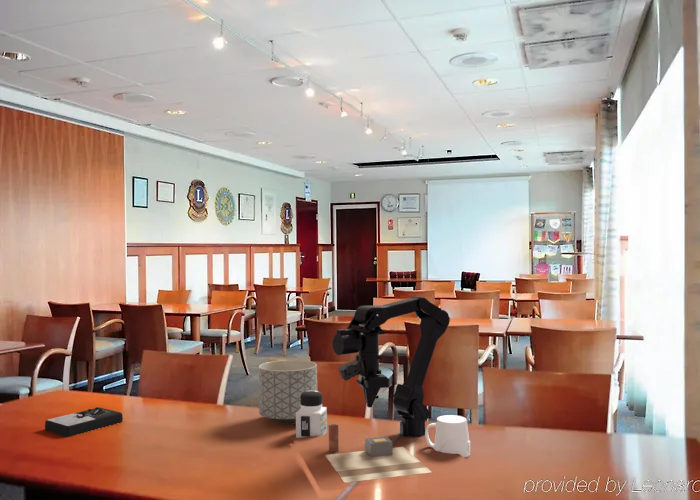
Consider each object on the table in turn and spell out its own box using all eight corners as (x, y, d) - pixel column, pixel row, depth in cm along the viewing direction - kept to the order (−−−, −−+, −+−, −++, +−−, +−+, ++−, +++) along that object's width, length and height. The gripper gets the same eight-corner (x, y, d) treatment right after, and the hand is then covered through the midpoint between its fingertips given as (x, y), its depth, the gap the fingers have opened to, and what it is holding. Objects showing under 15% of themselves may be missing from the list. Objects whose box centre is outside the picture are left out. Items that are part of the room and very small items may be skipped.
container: (321, 439, 175) (320, 395, 175) (295, 438, 176) (295, 394, 177) (327, 432, 182) (326, 389, 183) (302, 430, 184) (302, 388, 184)
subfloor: (403, 451, 164) (403, 446, 164) (432, 477, 145) (432, 472, 145) (325, 459, 158) (325, 455, 158) (344, 487, 139) (344, 482, 139)
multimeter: (123, 423, 196) (123, 408, 196) (67, 438, 181) (67, 422, 181) (100, 417, 204) (99, 403, 204) (44, 431, 188) (44, 416, 188)
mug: (470, 416, 164) (468, 424, 156) (471, 450, 164) (468, 459, 156) (427, 413, 168) (422, 421, 160) (428, 446, 168) (423, 456, 160)
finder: (386, 449, 162) (386, 435, 162) (392, 455, 157) (392, 440, 157) (365, 451, 160) (365, 437, 160) (370, 457, 156) (370, 442, 156)
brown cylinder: (337, 453, 163) (337, 423, 163) (339, 456, 160) (339, 426, 160) (327, 454, 162) (327, 424, 162) (330, 457, 160) (329, 427, 160)
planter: (286, 410, 209) (285, 358, 209) (329, 418, 198) (328, 363, 198) (247, 422, 194) (246, 366, 194) (291, 432, 182) (290, 373, 183)
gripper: (332, 347, 174) (333, 401, 174) (349, 358, 156) (350, 418, 156) (369, 345, 177) (370, 398, 176) (390, 356, 159) (391, 414, 159)
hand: (369, 407), depth 167 cm, fingers closed
